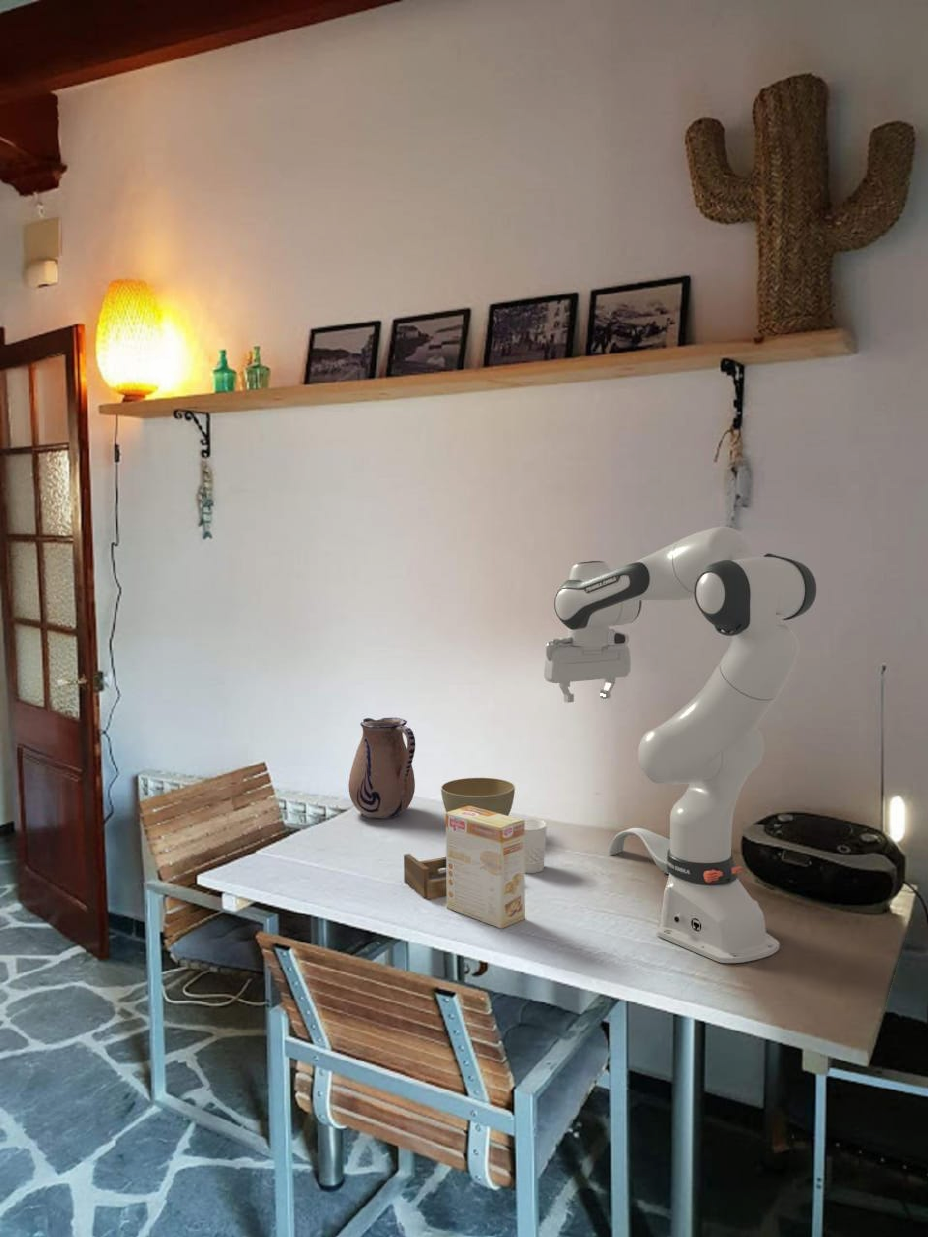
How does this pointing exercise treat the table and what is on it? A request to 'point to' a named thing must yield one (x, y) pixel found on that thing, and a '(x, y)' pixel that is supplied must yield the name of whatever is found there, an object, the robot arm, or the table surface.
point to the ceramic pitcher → (383, 769)
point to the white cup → (534, 845)
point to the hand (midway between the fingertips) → (587, 700)
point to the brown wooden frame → (425, 876)
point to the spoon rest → (652, 841)
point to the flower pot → (479, 794)
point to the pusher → (442, 870)
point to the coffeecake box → (485, 865)
